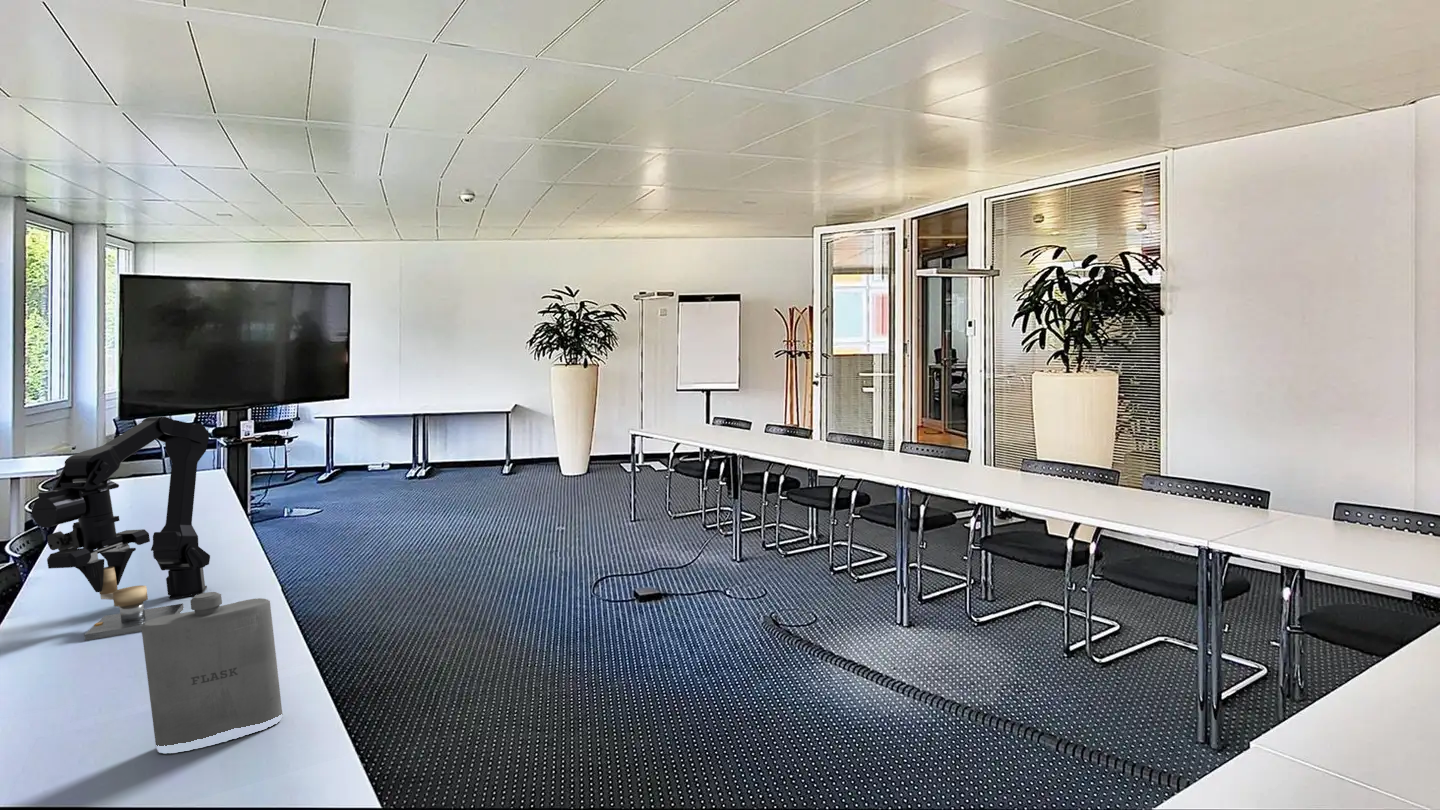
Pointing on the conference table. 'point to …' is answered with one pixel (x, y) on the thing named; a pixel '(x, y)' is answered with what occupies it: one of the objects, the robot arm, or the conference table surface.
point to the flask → (211, 669)
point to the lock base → (128, 626)
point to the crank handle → (121, 590)
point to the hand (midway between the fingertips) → (107, 588)
